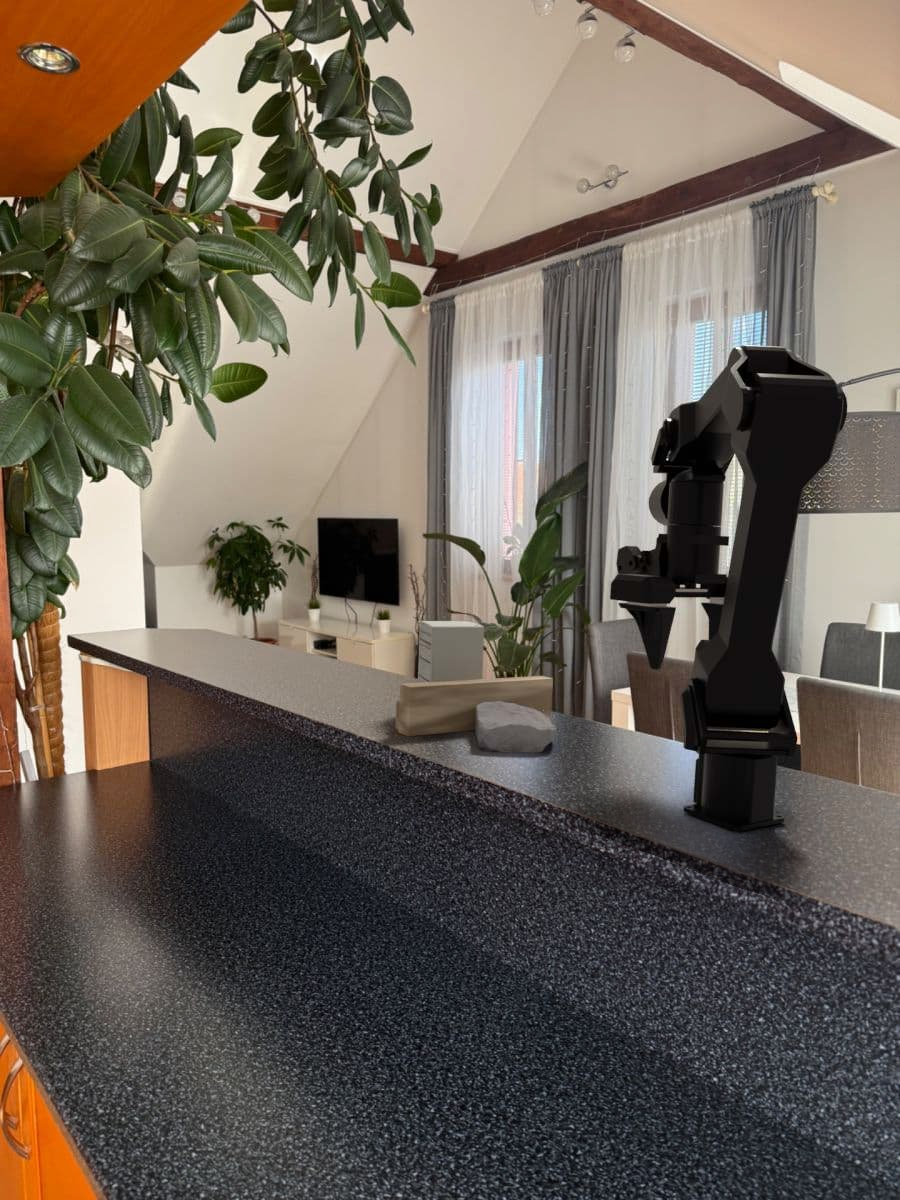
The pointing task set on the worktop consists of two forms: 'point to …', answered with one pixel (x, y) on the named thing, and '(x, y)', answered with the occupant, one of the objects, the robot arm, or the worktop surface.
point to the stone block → (512, 728)
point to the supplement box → (450, 651)
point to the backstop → (465, 702)
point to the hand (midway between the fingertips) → (685, 667)
